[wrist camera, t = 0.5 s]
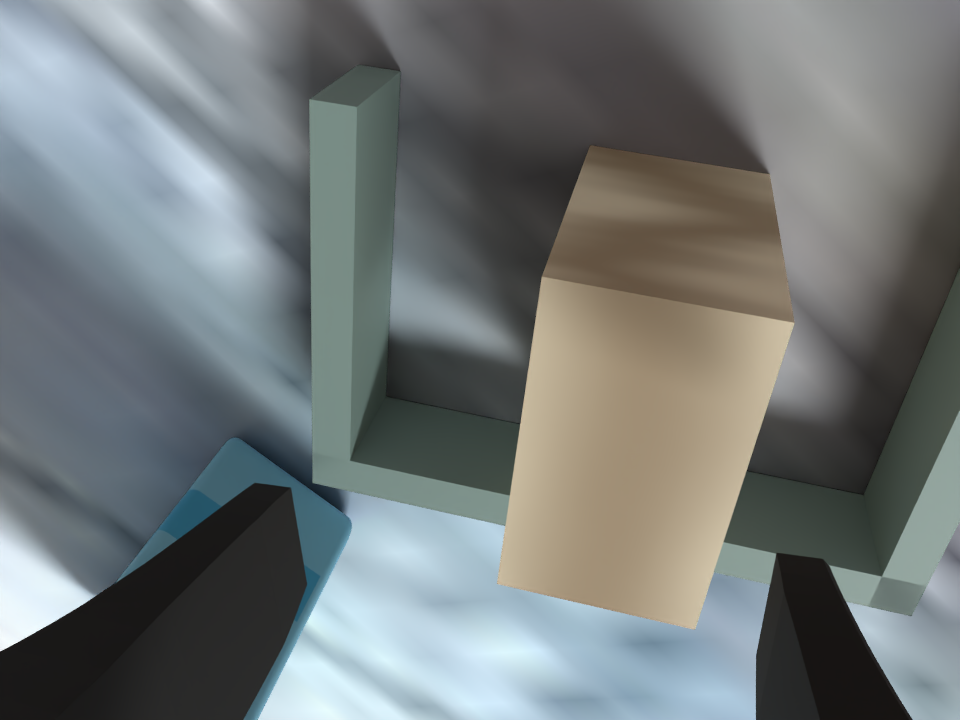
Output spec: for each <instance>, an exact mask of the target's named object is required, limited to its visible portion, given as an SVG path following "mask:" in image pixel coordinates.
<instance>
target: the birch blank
mask: <svg viewBox="0 0 960 720" xmlns="http://www.w3.org/2000/svg"><path fill="white" fill-rule="evenodd" d="M793 326H794V317H793V311H792V305H791V299H790V293H789V287H788V281H787V275H786V269H785V263H784V257H783V251H782V245H781V239H780V233H779V227H778V221H777V215H776V209H775V203H774V197H773V191H772V185H771V179H770V174H765V173H759V172H752V171H746V170H740V169H734V168H728V167H722V166H715V165H709V164H703V163H697V162H691V161H685V160H678V159H672V158H666V157H660V156H654V155H648V154H641V153H635V152H629V151H623V150H617V149H610V148H604V147H598V146H592V145H590V147H589V150H588V152H587V155H586V158H585V161H584V163H583V166H582V169H581V171H580V174H579V177H578V180H577V182H576V185H575V188H574V191H573V193H572V196H571V199H570V201H569V204H568V207H567V210H566V212H565V215H564V218H563V220H562V223H561V226H560V229H559V231H558V234H557V237H556V239H555V242H554V245H553V248H552V250H551V253H550V256H549V258H548V261H547V264H546V267H545V269H544V272H543V275H542V279H541V286H540V293H539V300H538V306H537V313H536V320H535V327H534V334H533V341H532V348H531V354H530V361H529V368H528V375H527V382H526V389H525V396H524V402H523V409H522V416H521V423H520V430H519V437H518V444H517V450H516V457H515V464H514V471H513V478H512V485H511V492H510V498H509V505H508V512H507V519H506V526H505V533H504V540H503V546H502V553H501V560H500V567H499V574H498V581H497V584H500V585H504V586H508V587H513V588H517V589H521V590H526V591H530V592H534V593H539V594H543V595H547V596H552V597H556V598H560V599H565V600H569V601H573V602H578V603H582V604H586V605H590V606H595V607H599V608H603V609H608V610H612V611H616V612H621V613H625V614H629V615H634V616H638V617H642V618H647V619H651V620H655V621H660V622H664V623H668V624H673V625H677V626H681V627H685V628H690V629H694V630H695V628H696V625H697V622H698V619H699V616H700V613H701V610H702V606H703V603H704V600H705V597H706V594H707V591H708V588H709V585H710V582H711V579H712V576H713V573H714V569H715V566H716V563H717V560H718V557H719V554H720V551H721V548H722V545H723V542H724V539H725V536H726V533H727V529H728V526H729V523H730V520H731V517H732V514H733V511H734V508H735V505H736V502H737V499H738V496H739V492H740V489H741V486H742V483H743V480H744V477H745V474H746V471H747V468H748V465H749V462H750V459H751V455H752V452H753V449H754V446H755V443H756V440H757V437H758V434H759V431H760V428H761V425H762V422H763V418H764V415H765V412H766V409H767V406H768V403H769V400H770V397H771V394H772V391H773V388H774V385H775V382H776V378H777V375H778V372H779V369H780V366H781V363H782V360H783V357H784V354H785V351H786V348H787V345H788V341H789V338H790V335H791V332H792V329H793Z"/></svg>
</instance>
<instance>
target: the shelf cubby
mask: <svg viewBox="0 0 960 720" xmlns="http://www.w3.org/2000/svg"><path fill="white" fill-rule="evenodd" d="M400 74H401V71H395V70H389V69H382V68H376V67H370V66H363V65H357V66H356V67H355V68H353V69H352V70H350V71H349V72H347V73H346V74H345V75H343V76H342V77H340V78H339V79H338V80H336V81H335V82H333V83H332V84H330V85H329V86H328V87H326V88H325V89H323V90H322V91H320V92H319V93H318V94H316V95H315V96H313V97H312V98H310V99H309V126H310V241H311V356H312V471H313V483H315V484H319V485H324V486H328V487H333V488H337V489H342V490H346V491H351V492H355V493H360V494H364V495H369V496H373V497H378V498H382V499H387V500H391V501H396V502H400V503H405V504H409V505H414V506H418V507H423V508H427V509H432V510H436V511H441V512H445V513H450V514H454V515H459V516H463V517H468V518H472V519H477V520H481V521H486V522H490V523H495V524H499V525H504V526H506V519H507V512H508V505H509V498H510V492H511V485H512V478H513V471H514V464H515V457H516V450H517V444H518V437H519V430H520V424H516V423H511V422H506V421H501V420H496V419H492V418H487V417H482V416H477V415H472V414H467V413H463V412H458V411H453V410H448V409H443V408H438V407H434V406H429V405H424V404H419V403H414V402H409V401H404V400H400V399H395V398H390V397H386V384H387V362H388V340H389V317H390V295H391V273H392V251H393V229H394V207H395V184H396V162H397V140H398V118H399V96H400ZM959 522H960V268H959V271H958V273H957V275H956V278H955V280H954V282H953V285H952V287H951V290H950V292H949V294H948V297H947V299H946V301H945V304H944V306H943V308H942V311H941V313H940V316H939V318H938V320H937V323H936V325H935V327H934V330H933V332H932V335H931V337H930V339H929V342H928V344H927V346H926V349H925V351H924V353H923V356H922V358H921V361H920V363H919V365H918V368H917V370H916V372H915V375H914V377H913V379H912V382H911V384H910V387H909V389H908V391H907V394H906V396H905V398H904V401H903V403H902V406H901V408H900V410H899V413H898V415H897V417H896V420H895V422H894V424H893V427H892V429H891V432H890V434H889V436H888V439H887V441H886V443H885V446H884V448H883V451H882V453H881V455H880V458H879V460H878V462H877V465H876V467H875V469H874V472H873V474H872V477H871V479H870V481H869V484H868V486H867V488H866V491H865V493H864V495H860V494H855V493H850V492H845V491H840V490H836V489H831V488H826V487H821V486H816V485H811V484H807V483H802V482H797V481H792V480H787V479H782V478H777V477H773V476H768V475H763V474H758V473H753V472H748V471H746V474H745V477H744V480H743V483H742V486H741V489H740V492H739V496H738V499H737V502H736V505H735V508H734V511H733V514H732V517H731V520H730V523H729V526H728V529H727V533H726V536H725V539H724V542H723V545H722V548H721V551H720V554H719V557H718V560H717V563H716V566H715V569H714V572H715V573H720V574H724V575H728V576H733V577H737V578H742V579H746V580H751V581H755V582H760V583H764V584H769V585H770V583H771V578H772V573H773V568H774V563H775V558H776V553H783V554H791V555H798V556H806V557H813V558H821V559H824V560H825V562H826V563H827V564H828V565H829V566H830V568H831V570H832V573H833V575H834V577H835V580H836V582H837V584H838V586H839V589H840V591H841V593H842V595H843V597H844V599H845V601H846V602H850V603H854V604H859V605H863V606H868V607H872V608H877V609H881V610H886V611H890V612H895V613H899V614H904V615H908V616H912V614H913V612H914V610H915V608H916V606H917V604H918V602H919V601H920V599H921V597H922V595H923V593H924V591H925V589H926V587H927V585H928V583H929V581H930V579H931V577H932V575H933V573H934V571H935V569H936V567H937V565H938V563H939V561H940V559H941V557H942V555H943V553H944V551H945V549H946V547H947V545H948V543H949V541H950V539H951V538H952V536H953V534H954V532H955V530H956V528H957V526H958V524H959Z"/></svg>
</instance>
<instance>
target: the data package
mask: <svg viewBox="0 0 960 720" xmlns="http://www.w3.org/2000/svg"><path fill="white" fill-rule="evenodd" d="M254 483H261V484H269V485H276V486H284V487H291V490H292V496H293V502H294V508H295V514H296V520H297V526H298V532H299V538H300V544H301V550H302V556H303V562H304V568H305V574H306V580H307V587H306V589H305V592H304V595H303V597H302V600H301V603H300V606H299V608H298V611H297V614H296V616H295V619H294V621H293V624H292V626H291V629H290V631H289V634H288V636H287V639H286V641H285V644H284V646H283V648H282V649H281V651H280V653H279V655H278V657H277V659H276V661H275V663H274V665H273V666H272V668H271V670H270V672H269V674H268V676H267V678H266V679H265V681H264V683H263V685H262V687H261V689H260V691H259V692H258V694H257V696H256V698H255V700H254V701H253V703H252V705H251V707H250V709H249V711H248V712H247V714H246V716H245V718H244V720H258V718H259V716H260V714H261V712H262V710H263V708H264V706H265V704H266V702H267V700H268V698H269V696H270V694H271V692H272V690H273V688H274V686H275V684H276V682H277V680H278V678H279V676H280V674H281V672H282V670H283V668H284V666H285V664H286V662H287V660H288V658H289V656H290V654H291V652H292V650H293V648H294V646H295V644H296V642H297V640H298V638H299V636H300V634H301V632H302V630H303V628H304V626H305V624H306V622H307V620H308V618H309V616H310V614H311V612H312V610H313V608H314V606H315V604H316V602H317V600H318V598H319V596H320V594H321V592H322V590H323V588H324V586H325V584H326V582H327V580H328V578H329V576H330V574H331V573H332V571H333V569H334V567H335V565H336V563H337V561H338V559H339V557H340V555H341V553H342V551H343V549H344V547H345V545H346V543H347V540H348V538H349V536H350V533H351V529H352V523H351V520H350V519H349V517H347V516H346V515H345V514H343V513H342V512H341V511H339V510H338V509H336V508H335V507H334V506H332V505H331V504H329V503H328V502H327V501H325V500H324V499H323V498H321V497H320V496H318V495H317V494H316V493H314V492H313V491H311V490H310V489H309V488H307V487H306V486H305V485H303V484H302V483H300V482H299V481H298V480H296V479H295V478H293V477H292V476H291V475H289V474H288V473H287V472H285V471H284V470H282V469H281V468H280V467H278V466H277V465H275V464H274V463H273V462H271V461H270V460H269V459H267V458H266V457H264V456H263V455H262V454H260V453H259V452H258V451H256V450H255V449H253V448H252V447H251V446H249V445H248V444H246V443H245V442H244V441H242V440H241V439H239V438H231V439H229V440H228V441H227V442H226V443H225V444H224V445H223V447H222V448H221V449H220V450H219V452H218V453H217V454H216V455H215V457H214V458H213V459H212V461H211V462H210V463H209V464H208V466H207V467H206V468H205V469H204V471H203V472H202V473H201V475H200V476H199V477H198V478H197V480H196V481H195V482H194V483H193V485H192V486H191V487H190V488H189V490H188V491H187V492H186V494H185V495H184V496H183V497H182V499H181V500H180V501H179V502H178V504H177V505H176V506H175V507H174V509H173V510H172V511H171V513H170V514H169V515H168V516H167V518H166V519H165V520H164V521H163V523H162V524H161V525H160V527H159V528H158V529H157V530H156V532H155V533H154V534H153V535H152V537H151V538H150V539H149V540H148V542H147V543H146V544H145V546H144V547H143V548H142V549H141V551H140V552H139V553H138V554H137V556H136V557H135V558H134V560H133V561H132V562H131V563H130V565H129V566H128V567H127V568H126V570H125V571H124V572H123V573H122V575H121V576H120V577H119V579H118V580H117V581H116V582H118V581H119V580H121V579H122V578H124V577H125V576H127V575H128V574H130V573H131V572H133V571H134V570H136V569H137V568H139V567H140V566H142V565H143V564H145V563H146V562H147V561H149V560H150V559H152V558H153V557H154V556H156V555H157V554H158V553H160V552H161V551H163V550H164V549H165V548H167V547H168V546H169V545H171V544H172V543H174V542H175V541H176V540H178V539H179V538H180V537H182V536H183V535H184V534H186V533H187V532H189V531H190V530H191V529H193V528H194V527H195V526H197V525H198V524H199V523H201V522H202V521H203V520H205V519H206V518H207V517H209V516H210V515H211V514H213V513H214V512H215V511H217V510H218V509H219V508H221V507H222V506H223V505H225V504H226V503H227V502H229V501H230V500H231V499H233V498H234V497H235V496H237V495H238V494H239V493H241V492H242V491H244V490H245V489H246V488H248V487H249V486H251V485H252V484H254ZM116 582H115V583H116Z"/></svg>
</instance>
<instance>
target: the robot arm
mask: <svg viewBox="0 0 960 720" xmlns="http://www.w3.org/2000/svg"><path fill="white" fill-rule="evenodd" d="M306 587H307V580H306V574H305V568H304V562H303V556H302V550H301V544H300V538H299V532H298V526H297V520H296V514H295V508H294V502H293V496H292V490H291V487H284V486H276V485H269V484H261V483H254V484H252V485H251V486H249V487H248V488H246V489H245V490H244V491H242V492H241V493H239V494H238V495H237V496H235V497H234V498H233V499H231V500H230V501H229V502H227V503H226V504H225V505H223V506H222V507H221V508H219V509H218V510H217V511H215V512H214V513H213V514H211V515H210V516H209V517H207V518H206V519H205V520H203V521H202V522H201V523H199V524H198V525H197V526H195V527H194V528H193V529H191V530H190V531H189V532H187V533H186V534H184V535H183V536H182V537H180V538H179V539H178V540H176V541H175V542H174V543H172V544H171V545H169V546H168V547H167V548H165V549H164V550H163V551H161V552H160V553H158V554H157V555H156V556H154V557H153V558H152V559H150V560H149V561H147V562H146V563H145V564H143V565H142V566H140V567H139V568H137V569H136V570H134V571H133V572H131V573H130V574H128V575H127V576H125V577H124V578H122V579H121V580H119V581H118V582H116V583H115V584H113V585H112V586H110V587H109V588H107V589H106V590H104V591H103V592H101V593H100V594H98V595H97V596H95V597H94V598H92V599H91V600H89V601H88V602H86V603H85V604H83V605H81V606H80V607H78V608H77V609H75V610H73V611H72V612H70V613H68V614H67V615H65V616H63V617H62V618H60V619H58V620H57V621H55V622H53V623H52V624H50V625H48V626H46V627H44V628H43V629H41V630H39V631H37V632H36V633H34V634H32V635H30V636H28V637H27V638H25V639H23V640H21V641H20V642H18V643H16V644H14V645H12V646H10V647H8V648H6V649H5V650H2V651H0V720H244V718H245V716H246V714H247V712H248V711H249V709H250V707H251V705H252V703H253V701H254V700H255V698H256V696H257V694H258V692H259V691H260V689H261V687H262V685H263V683H264V681H265V679H266V678H267V676H268V674H269V672H270V670H271V668H272V666H273V665H274V663H275V661H276V659H277V657H278V655H279V653H280V651H281V649H282V648H283V646H284V644H285V641H286V639H287V636H288V634H289V631H290V629H291V626H292V624H293V621H294V619H295V616H296V614H297V611H298V608H299V606H300V603H301V600H302V597H303V595H304V592H305V589H306ZM756 720H912V718H911V717H910V715H909V713H908V712H907V710H906V709H905V707H904V705H903V704H902V702H901V701H900V699H899V697H898V696H897V694H896V692H895V691H894V689H893V687H892V685H891V684H890V682H889V680H888V679H887V677H886V675H885V674H884V672H883V670H882V669H881V667H880V665H879V663H878V662H877V660H876V658H875V657H874V655H873V653H872V651H871V649H870V647H869V646H868V644H867V642H866V640H865V638H864V636H863V634H862V633H861V631H860V629H859V627H858V625H857V623H856V621H855V619H854V617H853V615H852V613H851V611H850V609H849V607H848V605H847V603H846V601H845V599H844V597H843V595H842V593H841V591H840V589H839V586H838V584H837V582H836V580H835V577H834V575H833V573H832V570H831V568H830V566H829V565H828V564H827V563H826V562H825V560H824V559H821V558H813V557H806V556H798V555H791V554H783V553H776V558H775V563H774V568H773V573H772V578H771V583H770V588H769V593H768V598H767V603H766V608H765V614H764V619H763V624H762V629H761V634H760V639H759V644H758V649H757V654H756Z"/></svg>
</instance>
